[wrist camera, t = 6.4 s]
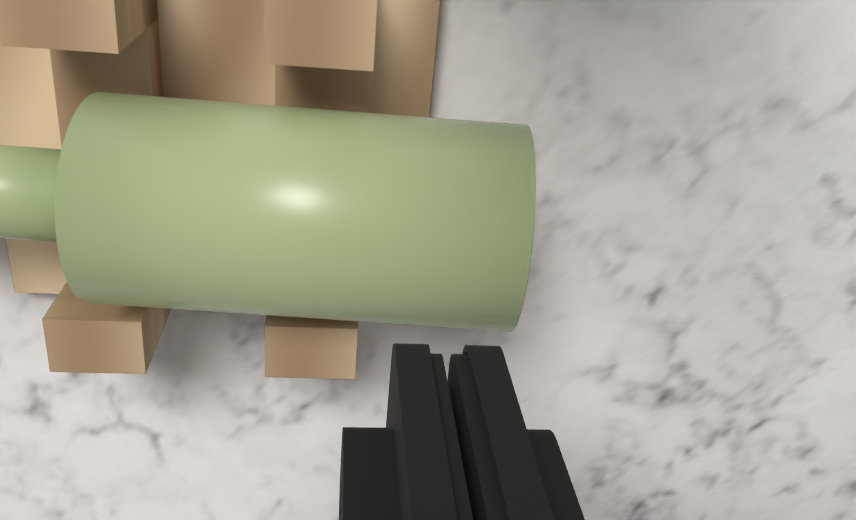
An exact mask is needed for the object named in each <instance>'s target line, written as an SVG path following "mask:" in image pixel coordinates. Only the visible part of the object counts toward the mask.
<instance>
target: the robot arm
mask: <svg viewBox="0 0 856 520" xmlns="http://www.w3.org/2000/svg"><path fill="white" fill-rule="evenodd" d="M339 520H585V519H584V516H583V514H582V511H581V508H580V505H579V502H578V499H577V497H576V494H575V491H574V488H573V485H572V482H571V480H570V477H569V474H568V471H567V468H566V465H565V463H564V460H563V457H562V454H561V451H560V448H559V446H558V443H557V440H556V438H555V436H554V434H553V432H552V431H550V430H527V429H526V426H525V423H524V419H523V416H522V413H521V410H520V406H519V403H518V400H517V397H516V393H515V390H514V387H513V384H512V380H511V377H510V374H509V371H508V367H507V364H506V361H505V358H504V354H503V351H502V349H501V347H500V346H477V345H465V347H464V349H463V354H452V355H451V358H450V364H449V372H448V381H447V377H446V372H445V367H444V361H443V356H442V354H430V348H429V345H428V344H393V349H392V359H391V371H390V384H389V396H388V409H387V422H386V428H353V427H343V432H342V450H341V471H340V500H339Z"/></svg>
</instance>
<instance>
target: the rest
mask: <svg viewBox="0 0 856 520" xmlns="http://www.w3.org/2000/svg"><path fill="white" fill-rule="evenodd" d="M439 6H440V0H0V145H10V146H23V147H37V148H50V149H62V145H63V141H64V138H65V135H66V132H67V129H68V126H69V124H70V121H71V119H72V117H73V115H74V113H75V111H76V109H77V108H78V107H79V105H80V104H81V102H82V101H83V100H84V99H85V98H86V97H87V96H89V95H91V94H92V93H96V92H106V93H119V94H132V95H145V96H158V97H171V98H184V99H197V100H209V101H222V102H235V103H248V104H261V105H274V106H287V107H300V108H313V109H326V110H339V111H352V112H365V113H378V114H391V115H404V116H417V117H429V113H430V102H431V92H432V81H433V70H434V59H435V49H436V38H437V27H438V17H439ZM6 244H7V250H8V256H9V262H10V268H11V274H12V280H13V286H14V292H19V293H47V294H58V296H57V297H56V299H55V300H54V302H53V303H52V305H51V307H50V308H49V310H48V311H47V313H46V314H45V316H44V317H43V319H42V321H43V328H44V334H45V341H46V348H47V354H48V361H49V368H50V372H81V373H122V374H146V372H147V369H148V366H149V364H150V361H151V359H152V356H153V354H154V351H155V349H156V346H157V343H158V341H159V338H160V336H161V333H162V331H163V328H164V326H165V323H166V320H167V318H168V315H169V313H170V310H171V309H167V308H152V307H137V306H122V305H107V304H92V303H85V302H83V301H81V300H80V299H79V298H78V297H76V295H75V294H74V293H73V291H72V290H71V288H70V286H69V284H68V283H67V280H66V278H65V275H64V273H63V269H62V266H61V262H60V257H59V252H58V247H57V242H50V241H35V240H21V239H7V238H6ZM357 337H358V321H347V320H332V319H317V318H302V317H287V316H272V315H267V318H266V323H265V377H284V378H324V379H355V370H356V354H357Z"/></svg>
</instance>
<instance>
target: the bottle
mask: <svg viewBox="0 0 856 520" xmlns="http://www.w3.org/2000/svg"><path fill="white" fill-rule="evenodd" d="M535 189H536V175H535V153H534V143H533V137H532V133H531V130H530V128H529V126H528V125H521V124H508V123H495V122H482V121H469V120H456V119H443V118H430V117H417V116H404V115H391V114H378V113H365V112H352V111H339V110H326V109H313V108H300V107H287V106H274V105H261V104H248V103H235V102H222V101H209V100H197V99H184V98H171V97H158V96H145V95H132V94H119V93H106V92H96V93H92V94H91V95H89V96H87V97H86V98H85V99H84V100H83V101H82V102H81V104H80V105H79V107H78V108H77V109H76V111H75V113H74V115H73V117H72V119H71V121H70V124H69V126H68V129H67V132H66V135H65V138H64V141H63V145H62V149H50V148H37V147H23V146H10V145H0V238H7V239H21V240H35V241H50V242H57V247H58V252H59V257H60V262H61V266H62V269H63V273H64V275H65V278H66V280H67V283H68V284H69V286H70V288H71V290H72V291H73V293H74V294H75V295H76V297H78V298H79V299H80V300H81V301H83V302H85V303H92V304H107V305H122V306H137V307H152V308H167V309H182V310H197V311H212V312H227V313H242V314H257V315H272V316H287V317H302V318H317V319H332V320H347V321H363V322H378V323H393V324H408V325H423V326H438V327H453V328H468V329H483V330H498V331H512V330H514V328H515V327H516V325H517V322H518V320H519V317H520V314H521V310H522V306H523V302H524V297H525V293H526V287H527V281H528V275H529V268H530V260H531V252H532V242H533V230H534V216H535Z"/></svg>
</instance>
